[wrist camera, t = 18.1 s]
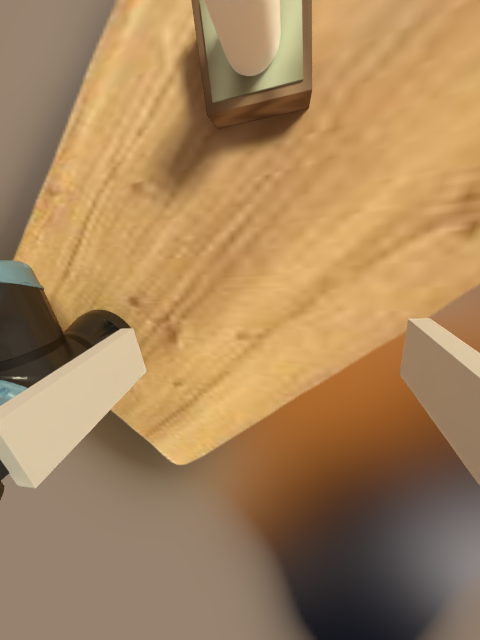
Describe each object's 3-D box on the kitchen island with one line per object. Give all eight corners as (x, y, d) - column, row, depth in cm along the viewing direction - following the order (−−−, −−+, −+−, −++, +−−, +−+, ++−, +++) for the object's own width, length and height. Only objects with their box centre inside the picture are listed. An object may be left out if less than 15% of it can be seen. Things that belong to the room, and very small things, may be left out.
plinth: (217, 128, 35) (206, 113, 30) (205, 26, 31) (189, -10, 26) (308, 107, 32) (312, 88, 27) (307, -8, 28) (311, -55, 23)
